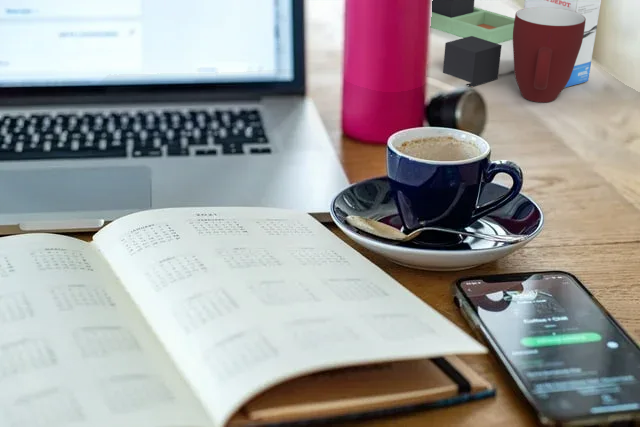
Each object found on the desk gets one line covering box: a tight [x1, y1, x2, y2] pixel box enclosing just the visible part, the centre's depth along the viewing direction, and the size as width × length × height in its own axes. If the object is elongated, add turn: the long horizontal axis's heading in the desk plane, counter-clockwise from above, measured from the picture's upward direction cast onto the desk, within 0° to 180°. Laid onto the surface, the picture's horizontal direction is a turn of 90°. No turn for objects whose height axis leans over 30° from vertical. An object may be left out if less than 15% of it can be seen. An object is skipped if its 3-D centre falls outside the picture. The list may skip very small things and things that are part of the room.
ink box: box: [523, 0, 602, 89], centre depth 111 cm, size 8×5×12 cm, turn 34°
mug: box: [512, 7, 586, 103], centre depth 104 cm, size 10×8×10 cm
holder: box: [430, 6, 515, 44], centre depth 131 cm, size 15×8×3 cm, turn 40°
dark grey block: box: [442, 36, 502, 88], centre depth 112 cm, size 5×5×4 cm
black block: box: [432, 0, 475, 18], centre depth 132 cm, size 5×5×4 cm
